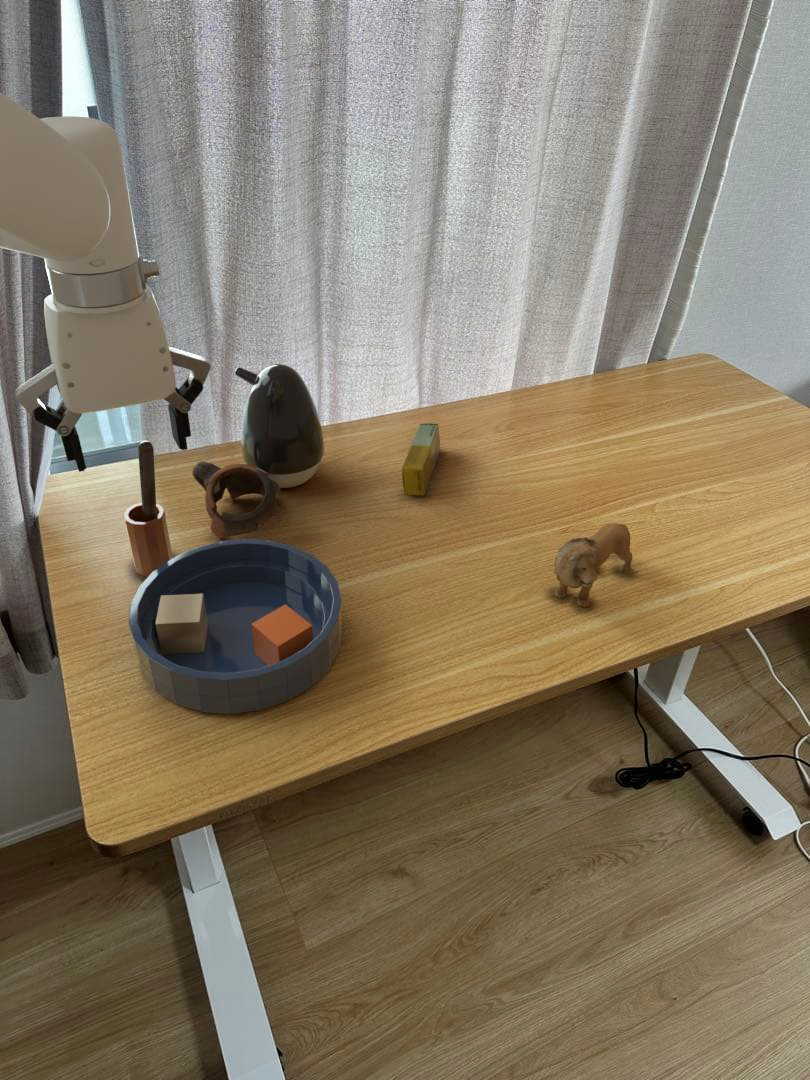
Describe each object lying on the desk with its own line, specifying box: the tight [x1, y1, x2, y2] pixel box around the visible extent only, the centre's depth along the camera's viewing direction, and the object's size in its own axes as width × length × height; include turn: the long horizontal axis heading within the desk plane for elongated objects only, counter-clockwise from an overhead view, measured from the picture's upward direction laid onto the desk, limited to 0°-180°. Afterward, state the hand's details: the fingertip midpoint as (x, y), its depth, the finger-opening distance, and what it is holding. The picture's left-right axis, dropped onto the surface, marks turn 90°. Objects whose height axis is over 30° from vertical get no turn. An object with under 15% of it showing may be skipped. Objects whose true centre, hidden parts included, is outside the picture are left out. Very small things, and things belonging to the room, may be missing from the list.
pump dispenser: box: [234, 363, 325, 489], centre depth 98 cm, size 10×10×15 cm
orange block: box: [252, 604, 313, 666], centre depth 76 cm, size 4×4×4 cm
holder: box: [122, 502, 174, 578], centre depth 86 cm, size 4×4×7 cm
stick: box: [137, 440, 157, 522], centre depth 82 cm, size 1×1×16 cm
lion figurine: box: [553, 522, 633, 608], centre depth 85 cm, size 15×5×9 cm, turn 144°
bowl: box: [128, 538, 343, 715], centre depth 78 cm, size 20×20×5 cm
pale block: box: [155, 594, 208, 654], centre depth 77 cm, size 4×4×4 cm
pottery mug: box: [191, 461, 281, 540], centre depth 94 cm, size 12×10×8 cm
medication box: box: [401, 422, 441, 496], centre depth 103 cm, size 12×3×4 cm, turn 168°
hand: (131, 453), depth 79 cm, fingers open, 9 cm apart
